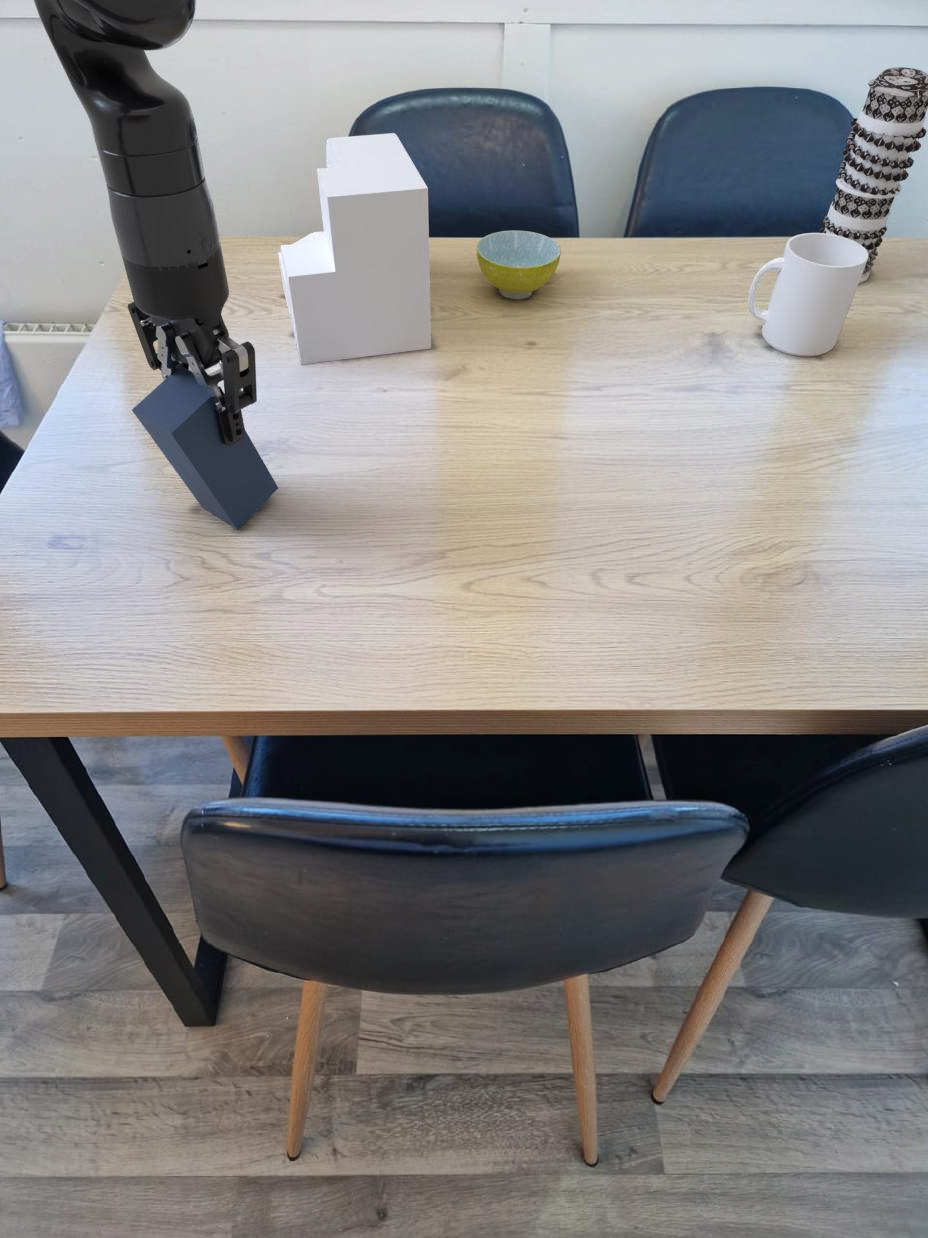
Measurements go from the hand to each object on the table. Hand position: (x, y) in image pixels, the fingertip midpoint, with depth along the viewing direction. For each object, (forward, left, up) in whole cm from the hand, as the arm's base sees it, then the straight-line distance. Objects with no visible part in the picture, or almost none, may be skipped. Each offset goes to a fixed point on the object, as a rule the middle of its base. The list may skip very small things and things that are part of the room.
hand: (211, 427), depth 77 cm
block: (+23, +36, -10) cm, 44 cm away
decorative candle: (+93, +23, -10) cm, 96 cm away
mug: (+74, +9, -10) cm, 75 cm away
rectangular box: (-3, -2, -3) cm, 5 cm away
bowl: (+46, +33, -10) cm, 57 cm away
